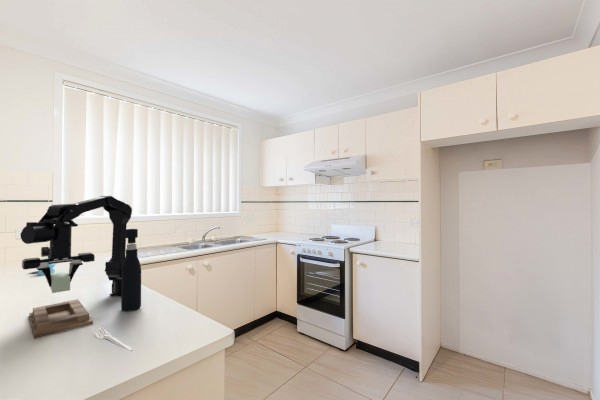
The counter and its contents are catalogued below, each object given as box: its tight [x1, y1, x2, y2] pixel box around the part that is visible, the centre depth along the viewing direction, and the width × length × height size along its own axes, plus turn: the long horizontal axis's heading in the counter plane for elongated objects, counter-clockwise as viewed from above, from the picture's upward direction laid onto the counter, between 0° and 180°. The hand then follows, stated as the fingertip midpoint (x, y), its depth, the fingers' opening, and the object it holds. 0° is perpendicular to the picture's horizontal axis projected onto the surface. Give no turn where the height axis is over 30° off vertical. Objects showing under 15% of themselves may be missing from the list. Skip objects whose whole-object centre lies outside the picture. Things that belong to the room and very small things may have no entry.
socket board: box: [28, 299, 94, 339], centre depth 94 cm, size 25×14×3 cm, turn 47°
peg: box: [49, 270, 71, 294], centre depth 97 cm, size 12×4×4 cm, turn 45°
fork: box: [93, 325, 134, 352], centre depth 79 cm, size 3×20×2 cm, turn 58°
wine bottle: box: [120, 228, 142, 313], centre depth 105 cm, size 6×6×30 cm
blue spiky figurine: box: [37, 257, 58, 276], centre depth 163 cm, size 18×10×9 cm, turn 43°
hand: (59, 284), depth 97 cm, fingers closed on peg, 5 cm apart
